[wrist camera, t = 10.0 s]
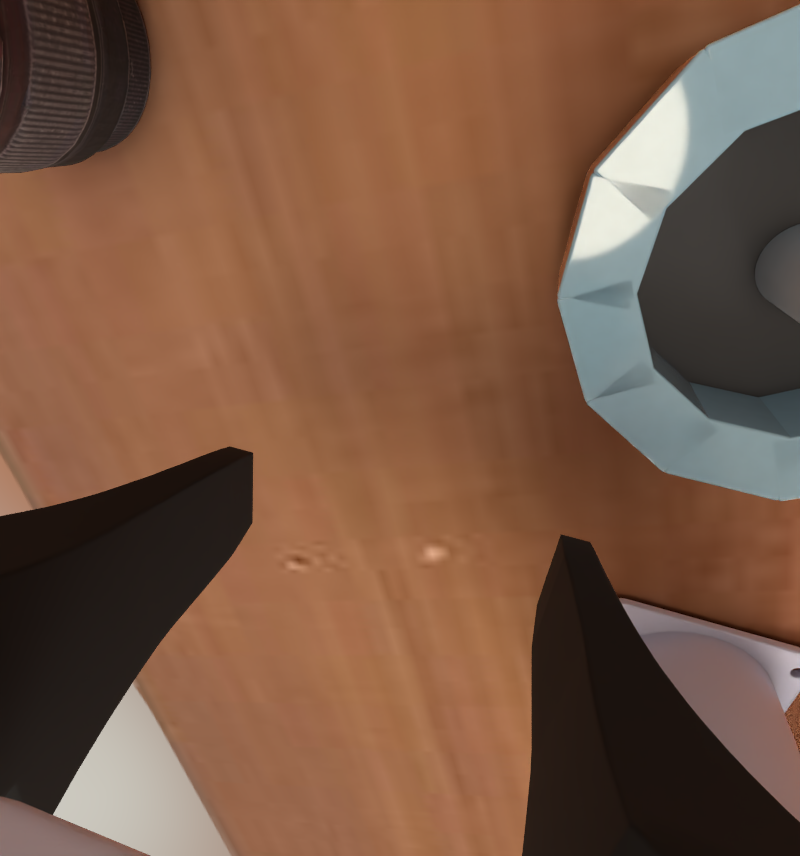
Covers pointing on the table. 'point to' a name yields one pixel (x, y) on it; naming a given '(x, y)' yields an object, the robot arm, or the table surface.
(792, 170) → the stand
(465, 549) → the table surface
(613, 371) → the ring
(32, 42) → the camera lens
